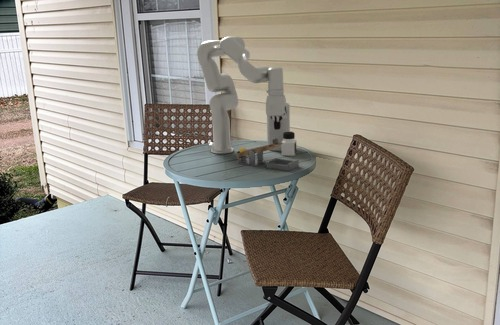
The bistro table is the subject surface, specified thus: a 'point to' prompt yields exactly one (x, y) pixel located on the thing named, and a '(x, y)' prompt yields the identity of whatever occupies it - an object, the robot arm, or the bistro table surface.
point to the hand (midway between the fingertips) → (277, 129)
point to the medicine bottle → (288, 144)
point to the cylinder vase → (278, 133)
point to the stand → (251, 159)
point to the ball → (242, 150)
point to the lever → (260, 148)
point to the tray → (282, 164)
